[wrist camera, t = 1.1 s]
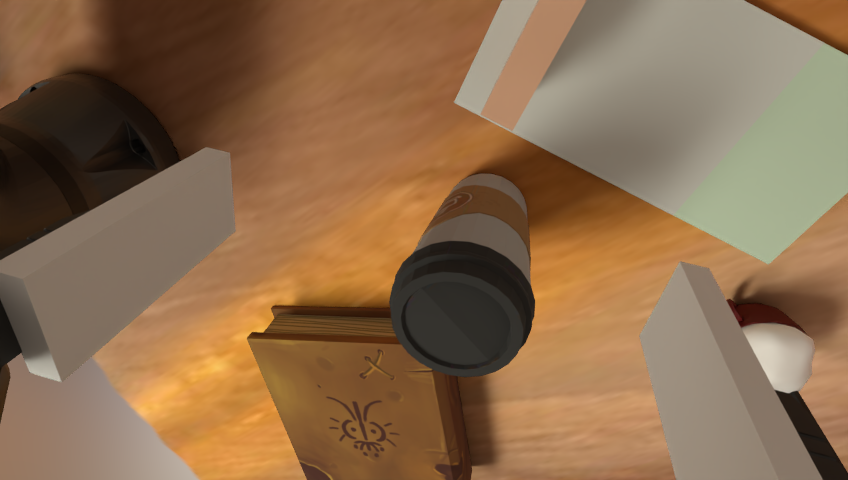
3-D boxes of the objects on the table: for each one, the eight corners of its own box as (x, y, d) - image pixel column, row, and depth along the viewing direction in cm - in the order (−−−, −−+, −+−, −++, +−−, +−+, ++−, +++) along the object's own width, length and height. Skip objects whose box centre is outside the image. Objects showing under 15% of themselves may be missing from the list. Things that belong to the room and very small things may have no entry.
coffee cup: (497, 136, 35) (466, 234, 22) (561, 219, 37) (566, 350, 25) (416, 196, 39) (352, 307, 27) (478, 267, 41) (446, 401, 29)
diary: (473, 461, 56) (465, 508, 51) (329, 445, 61) (310, 488, 56) (447, 305, 45) (435, 347, 40) (275, 302, 50) (245, 339, 45)
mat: (455, 100, 34) (453, 102, 34) (550, -101, 27) (550, -103, 27) (766, 261, 35) (768, 264, 35) (937, 103, 28) (943, 105, 28)
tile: (494, 83, 33) (480, 114, 26) (557, -40, 28) (559, -41, 22) (521, 96, 33) (513, 131, 26) (587, -24, 28) (598, -20, 22)
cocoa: (699, 283, 38) (743, 394, 28) (794, 274, 35) (881, 391, 25) (707, 374, 41) (748, 502, 31) (793, 372, 39) (869, 508, 29)
